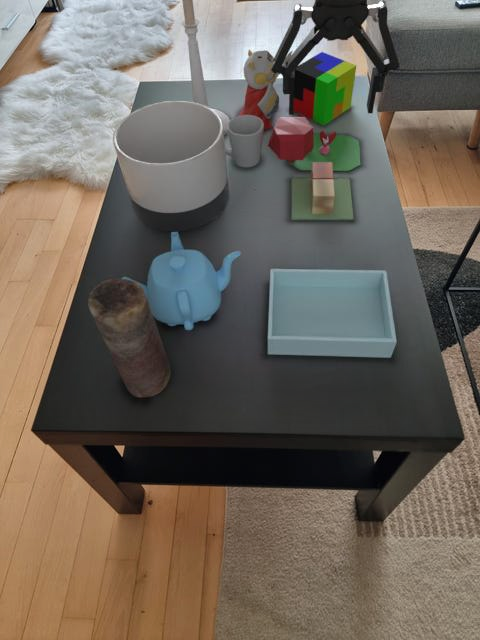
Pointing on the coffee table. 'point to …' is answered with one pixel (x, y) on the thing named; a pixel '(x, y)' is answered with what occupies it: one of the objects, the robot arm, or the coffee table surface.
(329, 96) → the puzzle toy
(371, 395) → the coffee table surface
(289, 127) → the low-poly diorama
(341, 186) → the mat
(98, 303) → the candle
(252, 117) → the cup
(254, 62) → the figurine
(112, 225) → the coffee table surface
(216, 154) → the planter
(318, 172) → the terracotta piece
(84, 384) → the coffee table surface
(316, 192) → the birch piece
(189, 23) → the candlestick
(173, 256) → the teapot
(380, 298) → the box
